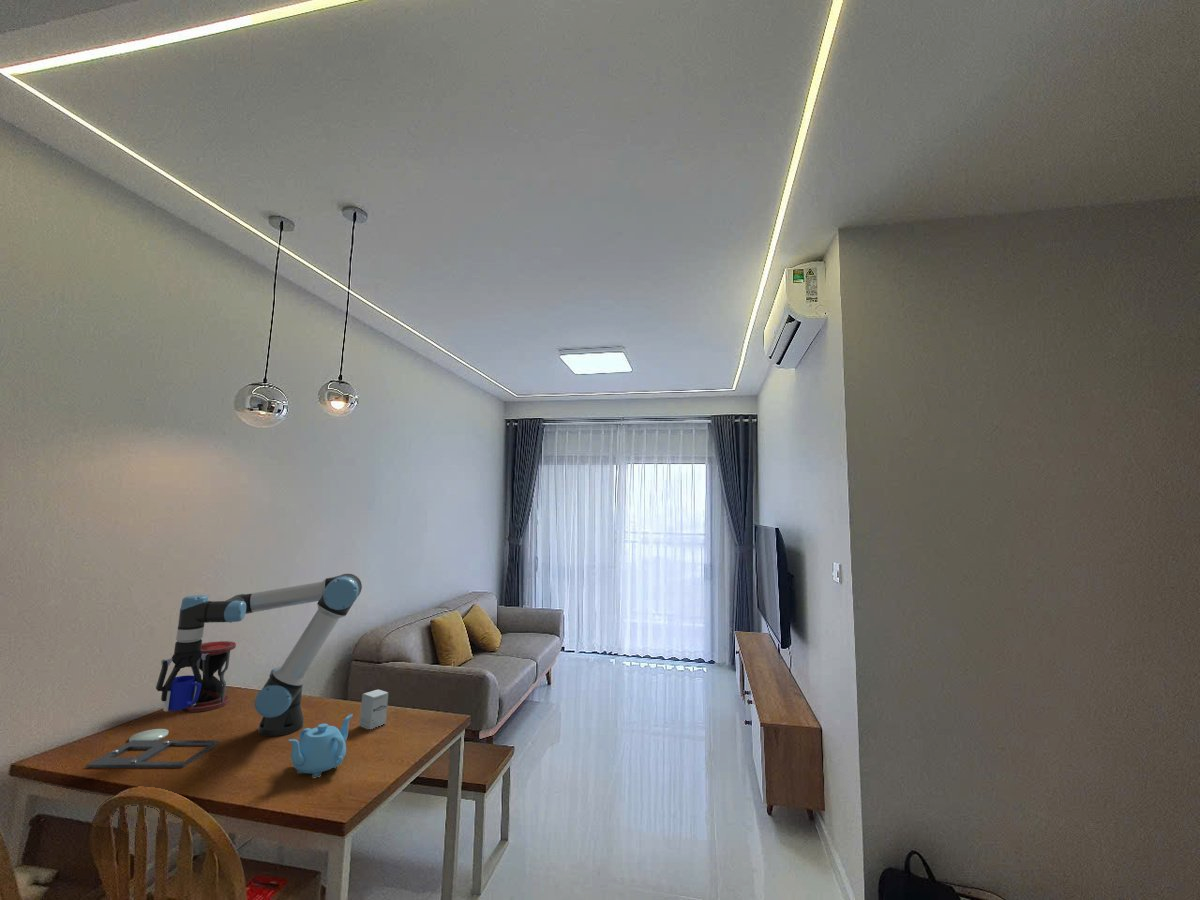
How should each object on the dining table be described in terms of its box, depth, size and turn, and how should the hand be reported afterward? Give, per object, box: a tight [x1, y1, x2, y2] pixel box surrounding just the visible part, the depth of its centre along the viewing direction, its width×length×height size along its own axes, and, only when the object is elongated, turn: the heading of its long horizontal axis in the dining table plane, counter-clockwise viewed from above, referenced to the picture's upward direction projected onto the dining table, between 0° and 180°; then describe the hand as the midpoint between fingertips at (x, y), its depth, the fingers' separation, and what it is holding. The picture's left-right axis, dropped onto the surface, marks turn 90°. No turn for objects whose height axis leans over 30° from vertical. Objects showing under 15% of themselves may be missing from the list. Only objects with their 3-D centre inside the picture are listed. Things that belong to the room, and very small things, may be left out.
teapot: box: [287, 713, 354, 777], centre depth 170 cm, size 16×20×14 cm
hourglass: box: [182, 640, 237, 713], centre depth 220 cm, size 16×16×25 cm
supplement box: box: [359, 689, 389, 730], centre depth 204 cm, size 7×7×13 cm
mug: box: [168, 674, 201, 712], centre depth 179 cm, size 8×12×10 cm
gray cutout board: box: [85, 739, 221, 769], centre depth 174 cm, size 30×18×1 cm, turn 95°
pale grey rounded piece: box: [128, 728, 170, 742], centre depth 187 cm, size 11×11×1 cm
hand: (179, 707), depth 178 cm, fingers closed on mug, 7 cm apart
